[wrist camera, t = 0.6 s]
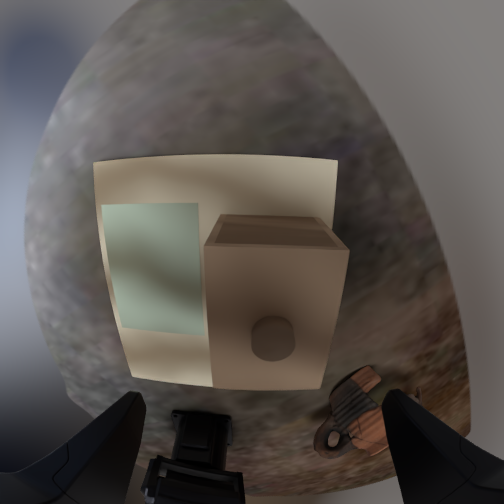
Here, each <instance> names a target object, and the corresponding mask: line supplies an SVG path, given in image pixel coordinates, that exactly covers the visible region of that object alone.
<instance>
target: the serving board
mask: <svg viewBox="0 0 504 504" xmlns="http://www.w3.org/2000/svg"><path fill="white" fill-rule="evenodd" d="M93 166H94V187H95V200H96V211H97V221H98V229H99V237H100V244H101V251H102V257H103V263H104V269H105V274H106V280H107V285H108V289H109V294H110V299H111V303H112V307H113V312H114V316H115V320H116V324H117V327H118V331H119V335H120V338H121V342H122V345H123V349H124V352H125V355H126V358H127V362H128V365H129V368H130V371H131V374H132V377H138V378H144V379H150V380H156V381H163V382H171V383H179V384H188V385H198V386H210V387H213V384H212V373H211V362H210V350H209V338H208V324H207V308H206V291H205V270H204V244H205V242H206V240H207V239H208V237H209V235H210V233H211V231H212V229H213V227H214V225H215V223H216V222H217V220H218V218H219V216H220V214H237V215H271V216H296V217H317V218H320V219H321V220H322V221H323V222H324V223H325V224H326V225H327V226H328V227H329V228H330V229H331V230H332V225H333V215H334V205H335V193H336V181H337V166H338V160H329V159H318V158H306V157H292V156H274V155H244V154H202V155H172V156H155V157H141V158H129V159H119V160H109V161H101V162H93Z"/></svg>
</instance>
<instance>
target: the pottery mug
mask: <svg viewBox="0 0 504 504" xmlns="http://www.w3.org/2000/svg"><path fill="white" fill-rule="evenodd" d="M380 381H381V377H380V376H379V375H378V374H377V373H375V372H374V370H373V369H372V368H371V367H370V366H369V365H368V366H366V367H364V368H362V369H361V370H359V371H358V372H356V373H355V374H354V375H353V376H352V377H351V378H349V379H348V380H346V381H345V382H344V383H342V384H341V385H340V386H339V387H338V388H336V389H335V390H334V391H333V393H332V394H331V395H330V397H329V399H330V403H331V408H332V411H331V412H330V413H329V416H328V418H327V419H326V421H325V422H324V423H323V424H322V425H321V426H320V427H319V428H318V430H317V432H316V434H315V437H314V442H313V444H314V450H315V451H317V452H318V453H319V455H320V456H321V457H323V458H326V459H334V458H337V457H340V456H342V455H344V454H345V453H347V452H348V451H350V450H353V449H357V448H359V449H365V450H366V451H367V453H368V455H369V456H373V455H375V454H377V453H378V452H380V451H382V450H383V449H385V448H386V447H388V446H389V445H388V442H387V437H386V431H385V426H384V420H383V415H382V409H381V405H380V406H378V404H377V403H376V402H374V401H373V400H372V399H371V398H370V397H368V395H367V393H368V392H369V391H370V389H371V388H373V387H374V386H375V385H376V384H377V383H379V382H380ZM408 396H409V397H410V398H412V399H413V400H414V401H416V402H417V403H418V404H420V405H421V406H422V402H421V400H422V394H421V389H420V387H417V396H415V397H414V395H413V394H408ZM422 407H423V406H422ZM332 431H336V432H338V433H339V434H340V438H339V441H338V444H337V445H336V446H335V447H330V446H329V445H328V438H329V435H330V433H331V432H332ZM348 431H349V432H350V433H351V434H352V435H354V436H353V437H352V438H350V436H349V432H348Z"/></svg>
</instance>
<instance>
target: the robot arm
mask: <svg viewBox="0 0 504 504" xmlns="http://www.w3.org/2000/svg"><path fill="white" fill-rule="evenodd" d="M381 409H382V415H383V420H384V426H385V431H386V437H387V442H388V445H389V449H390V452H391V456H392V459H393V463H394V467H395V470H396V474H397V477H398V482H399V485H400V489H401V493H402V498H403V502H404V504H504V460H501V459H499V458H498V457H496V456H494V455H492V454H490V453H488V452H487V451H485V450H483V449H481V448H480V447H478V446H476V445H474V444H473V443H472V442H470V441H469V440H467V439H466V438H464V437H463V436H462V435H460V434H459V433H457V432H456V431H455V430H453V429H452V428H451V427H449V426H448V425H446V424H445V423H444V422H442V421H441V420H440V419H438V418H437V417H436V416H434V415H433V414H432V413H430V412H429V411H428V410H426V409H425V408H424V407H422V406H421V405H420V404H418V403H417V402H416V401H414V400H413V399H412V398H410V397H409V396H408V395H406V394H405V393H404V392H402V391H401V390H400V389H393V390H389V391H388V392H387V394H386V396H385V398H384V400H383V402H382V405H381ZM145 415H146V405H145V402H144V399H143V397H142V394H141V393H140V392H137V391H129V392H127V393H126V394H125V395H124V396H122V397H121V398H120V399H119V400H118V401H116V402H115V403H114V404H113V405H111V406H110V407H109V408H108V409H107V410H105V411H104V412H103V413H102V414H100V415H99V416H98V417H97V418H96V419H94V420H93V421H92V422H91V423H89V424H88V425H87V426H86V427H84V428H83V429H82V430H81V431H79V432H78V433H77V434H76V435H74V436H73V437H72V438H70V439H69V440H68V442H66V443H64V444H63V445H61V446H60V447H59V448H57V449H56V450H55V451H53V452H52V453H50V454H49V455H47V456H46V457H44V458H42V459H41V460H39V461H37V462H35V463H34V464H32V465H30V466H28V467H27V468H25V469H23V470H21V471H18V472H14V473H0V504H124V503H125V499H126V495H127V491H128V487H129V483H130V479H131V476H132V473H133V469H134V466H135V462H136V459H137V455H138V452H139V448H140V444H141V439H142V433H143V427H144V421H145ZM171 417H172V420H173V423H174V426H175V429H176V432H177V434H176V438H175V443H174V447H173V451H172V456H171V459H168V458H165V457H163V456H161V455H157V459H156V458H155V459H150V462H149V466H148V469H147V473H146V475H145V478H144V481H143V483H142V486H141V492H142V494H143V495H144V500H146V502H145V504H245V493H244V484H243V475H242V472H230V471H225V467H226V454H227V446H232V422H231V417H229V416H221V415H208V414H198V413H189V412H181V411H172V413H171ZM160 475H163V476H166V477H161V476H160Z"/></svg>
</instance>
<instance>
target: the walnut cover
mask: <svg viewBox="0 0 504 504" xmlns="http://www.w3.org/2000/svg"><path fill="white" fill-rule="evenodd" d="M349 252H350V250H349V249H348V248H347V247H346V246H345V245H344V244H343V242H342V241H341V240H340V239H339V238H338V237H337V236H336V235H335V234H334V233H333V231H332V230H331V229H330V228H329V227H328V226H327V225H326V224H325V223H324V222H323V221H322V220H321V219H320V218H317V217H296V216H271V215H237V214H220V216H219V218H218V220H217V222H216V223H215V225H214V227H213V229H212V231H211V233H210V235H209V237H208V239H207V240H206V242H205V244H204V270H205V291H206V308H207V324H208V338H209V350H210V362H211V373H212V384H213V388H217V389H235V390H306V389H320V386H321V383H322V379H323V375H324V372H325V368H326V364H327V360H328V356H329V352H330V348H331V344H332V340H333V336H334V331H335V327H336V322H337V318H338V313H339V308H340V303H341V298H342V293H343V288H344V282H345V276H346V271H347V265H348V258H349Z"/></svg>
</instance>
